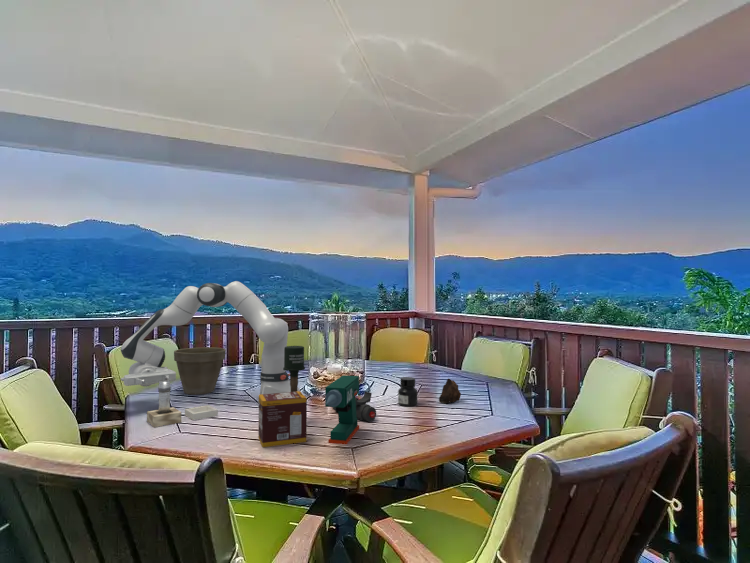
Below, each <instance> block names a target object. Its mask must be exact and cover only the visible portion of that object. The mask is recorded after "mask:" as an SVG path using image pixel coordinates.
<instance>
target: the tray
mask: <svg viewBox="0 0 750 563" xmlns="http://www.w3.org/2000/svg"><path fill="white" fill-rule="evenodd" d="M184 416H186V417H187V418H188V419H190V420H191V421H199V420H203V419H208V418H209V419H210V418H215V417H218V416H219V410H218V408H216V407H214V406H212V405H209V404H206V405H202V406H195V407H189V408H185V409H184Z"/></svg>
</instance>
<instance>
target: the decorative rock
mask: <svg viewBox="0 0 750 563" xmlns="http://www.w3.org/2000/svg"><path fill="white" fill-rule="evenodd" d="M461 395H462V393H461V391H460V390H459V385H458V384H457V383H456V381H454V380H452V379H451V378H447V379H446V382H445V384H444V385H443V386H442V390H441V394H440V395H439V397H438V401H439V403H440V404H448V403H451V402H452V403H455V402H457V401H459V400H460V399H461Z"/></svg>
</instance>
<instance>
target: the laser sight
mask: <svg viewBox="0 0 750 563" xmlns="http://www.w3.org/2000/svg"><path fill="white" fill-rule="evenodd" d="M372 394H373V393H372V392H369V391H364V395H363V396H362V397H361V398H359V397H355V399H356V416H357V418H358V421H359V420H360V421H363V422H366V421H367V422H369V423H370V422H373V421H374V420H375V419H376V416H377V409H376V408H375V407H374V406H371V405H370V404H368V403H370V402H371V399H372ZM331 408H332V410H333V411H335V412H337V411H336V407H331Z"/></svg>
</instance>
